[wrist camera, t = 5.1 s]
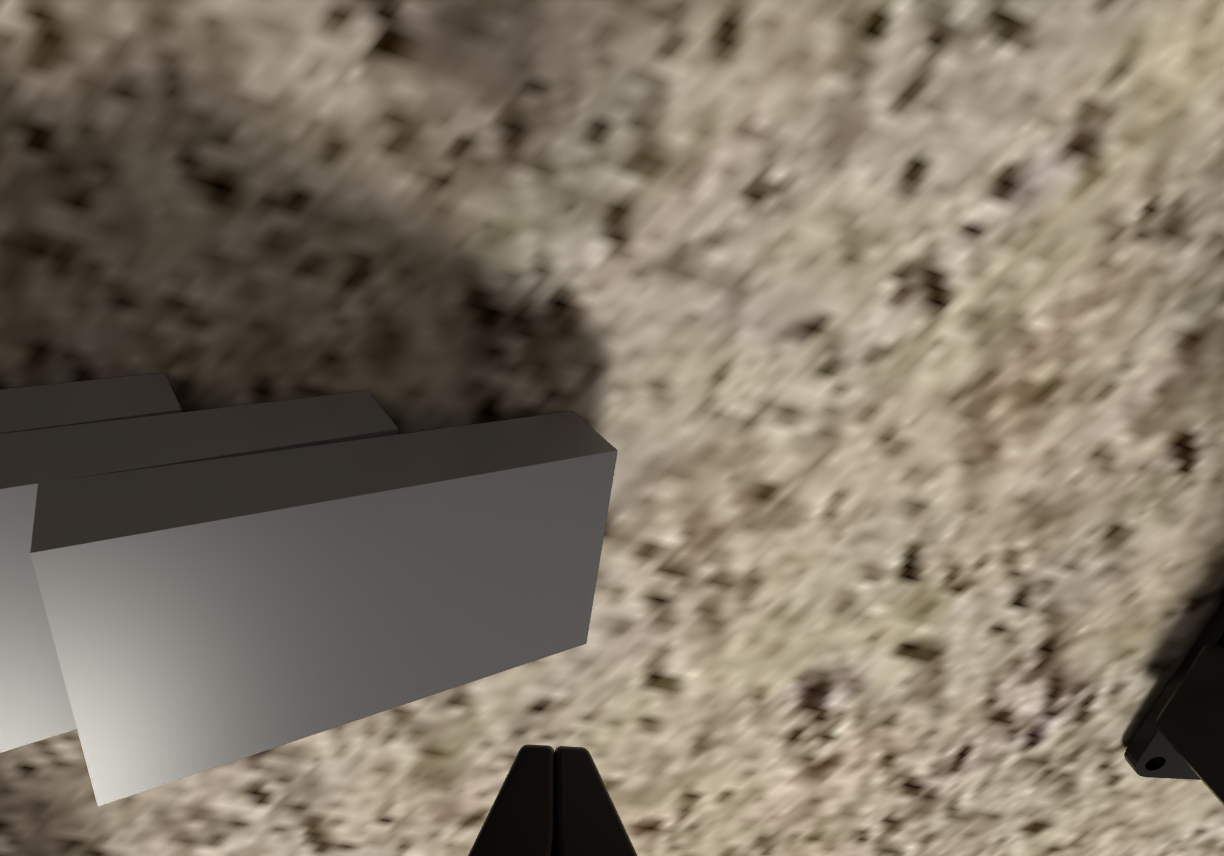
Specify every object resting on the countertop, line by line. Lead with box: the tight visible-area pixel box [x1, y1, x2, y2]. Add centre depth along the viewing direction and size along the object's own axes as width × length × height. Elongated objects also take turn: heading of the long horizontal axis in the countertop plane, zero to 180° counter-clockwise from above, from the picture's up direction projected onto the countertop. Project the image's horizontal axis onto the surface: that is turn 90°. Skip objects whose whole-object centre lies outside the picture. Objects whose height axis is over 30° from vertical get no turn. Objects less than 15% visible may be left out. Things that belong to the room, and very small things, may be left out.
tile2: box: [0, 391, 398, 753], centre depth 11 cm, size 2×4×8 cm
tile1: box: [30, 411, 618, 806], centre depth 12 cm, size 2×4×8 cm
